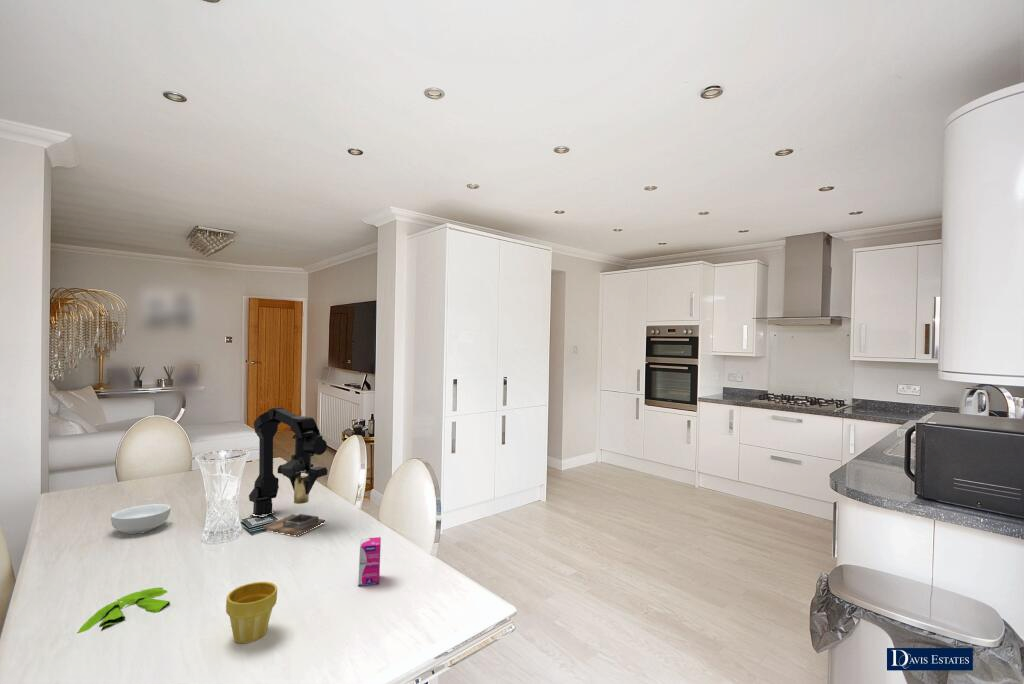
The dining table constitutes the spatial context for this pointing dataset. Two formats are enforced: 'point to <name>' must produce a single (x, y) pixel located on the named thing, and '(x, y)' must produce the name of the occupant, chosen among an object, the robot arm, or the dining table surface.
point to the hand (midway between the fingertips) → (301, 493)
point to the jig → (294, 524)
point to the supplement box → (369, 561)
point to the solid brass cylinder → (300, 490)
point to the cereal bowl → (140, 518)
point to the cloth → (130, 599)
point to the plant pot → (251, 610)
